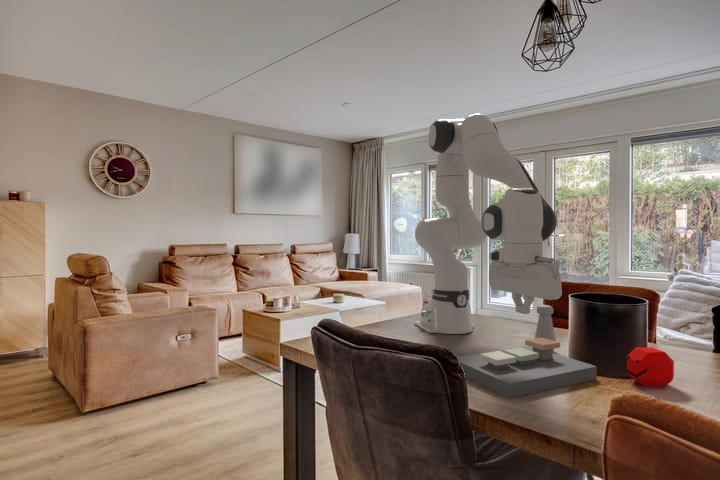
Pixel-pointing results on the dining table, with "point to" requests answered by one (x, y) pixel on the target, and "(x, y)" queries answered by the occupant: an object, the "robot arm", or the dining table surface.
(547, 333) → the salt shaker
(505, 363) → the cream button
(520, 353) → the sage button
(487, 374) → the panel
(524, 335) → the dining table surface
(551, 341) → the terracotta button
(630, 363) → the ball
